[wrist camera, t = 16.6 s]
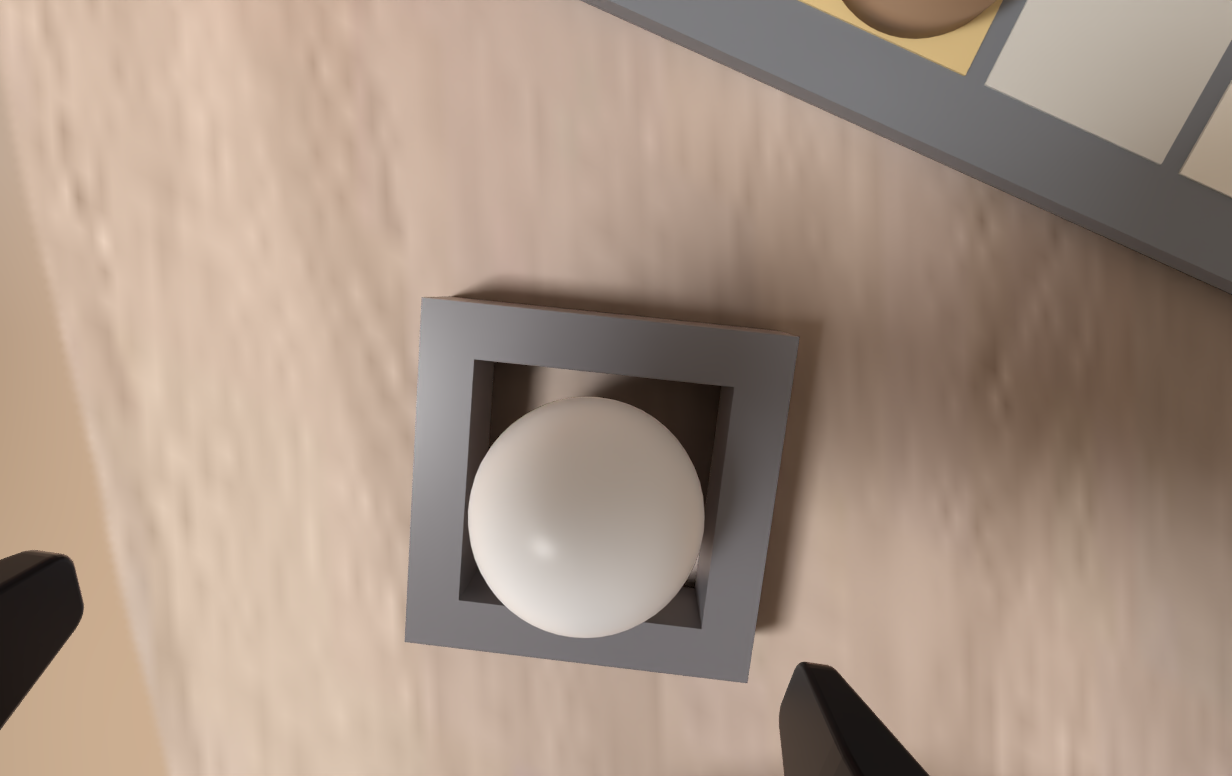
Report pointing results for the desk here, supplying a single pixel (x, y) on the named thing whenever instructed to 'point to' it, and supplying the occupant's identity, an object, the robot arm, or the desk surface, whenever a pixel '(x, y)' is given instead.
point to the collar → (613, 344)
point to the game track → (1019, 101)
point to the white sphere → (586, 517)
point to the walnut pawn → (916, 15)
